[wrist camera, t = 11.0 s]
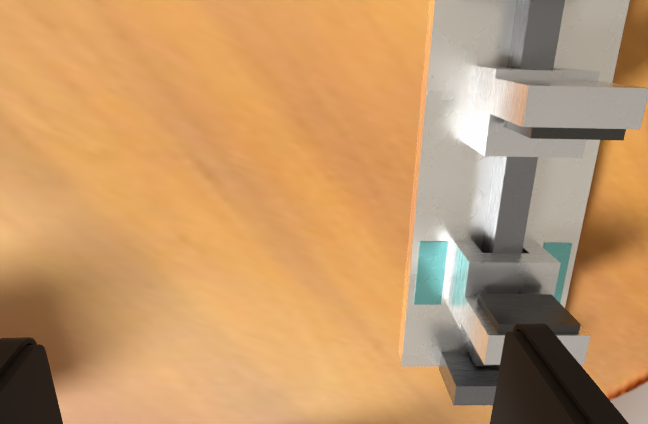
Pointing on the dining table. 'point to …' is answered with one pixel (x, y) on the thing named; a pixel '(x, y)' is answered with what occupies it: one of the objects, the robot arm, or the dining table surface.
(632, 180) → the dining table surface
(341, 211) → the dining table surface
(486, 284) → the notched grey block
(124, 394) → the dining table surface
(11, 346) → the robot arm
